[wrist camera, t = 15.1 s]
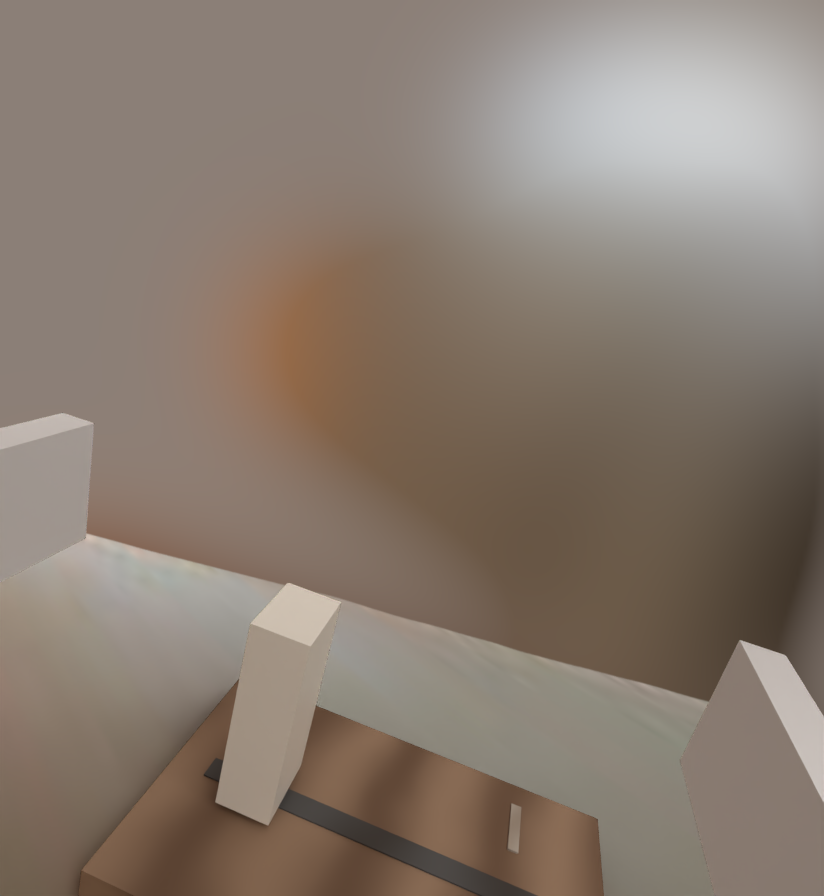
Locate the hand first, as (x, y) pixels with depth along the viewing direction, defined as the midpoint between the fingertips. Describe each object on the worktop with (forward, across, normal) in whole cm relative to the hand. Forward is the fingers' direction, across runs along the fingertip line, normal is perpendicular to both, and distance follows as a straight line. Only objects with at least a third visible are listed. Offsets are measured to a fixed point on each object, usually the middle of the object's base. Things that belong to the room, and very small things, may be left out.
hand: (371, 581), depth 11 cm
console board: (+13, +1, -25) cm, 28 cm away
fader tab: (+13, -6, -22) cm, 26 cm away
